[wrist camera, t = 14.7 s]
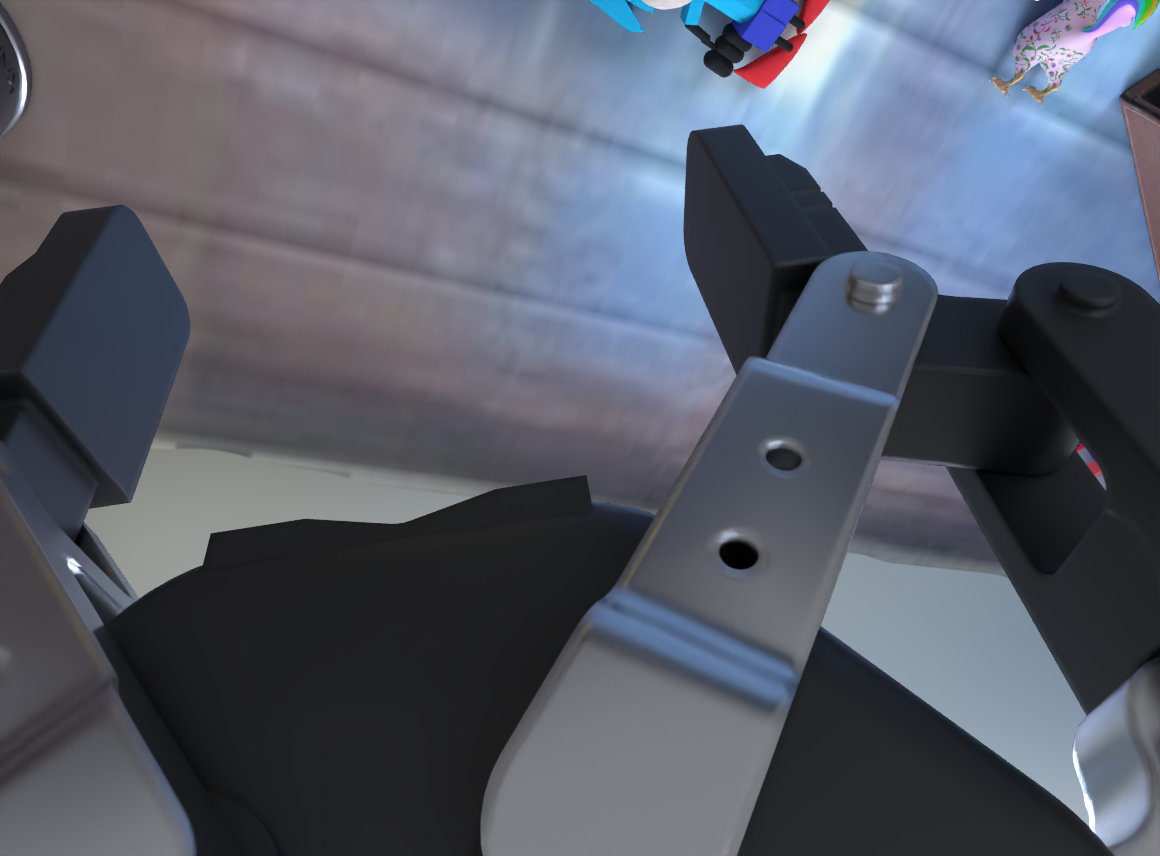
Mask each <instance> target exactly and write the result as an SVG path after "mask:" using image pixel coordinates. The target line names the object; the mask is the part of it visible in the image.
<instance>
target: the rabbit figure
mask: <svg viewBox="0 0 1160 856" xmlns="http://www.w3.org/2000/svg"><path fill="white" fill-rule="evenodd" d="M1036 1H1039V0H1036ZM1105 1H1107V0H1063V1H1062V2H1061V3H1060V4H1059V5H1058V6H1057V7H1055V8H1054V9H1052V10H1050V11H1049V12H1047V13H1046V14H1044V15H1043V16H1041V17H1040V18H1038V19H1037V20H1035V21H1034V22H1032V23H1031V24H1029V25H1028V26H1027V27H1025V28H1024V29H1023V30H1022V31H1021V32H1020V34H1019V35H1018V36H1017V38H1016V40H1015V42H1014V44H1013V47H1012V53H1013V58H1014V62H1015V70H1016V73H1015V76H1014V78H1013V79H1012V80H1010V81H1008V82H1004V81H1001V79H1000V78H998V77H995V76H994V77H992V78H991V79H990V80H989V82H990V81H991V80H993V84H994V85H995V86H996V87H997V88H998V89H999V90H1000V91H1001V92H1002V93H1003V92H1006V98H1007V96H1008V90H1007V88H1008V87H1010V86H1011V85H1013V84H1014V83H1015V82H1017V81H1020V80H1021V79H1022V78H1023V77H1024V75H1025V73H1026V72H1027V71H1028V70H1030V69H1031V68H1032V67H1033V66H1035V65H1036V64H1037V63H1040V65H1041V67H1042V69H1043V70H1044V71H1045V73H1046V75H1047V77H1048V80H1049V85H1048V87H1047V88H1046V89H1045V90H1042V91H1039V90H1036V88H1035V87H1034V86H1029V87H1028V88H1024V89H1023V90H1028V93H1029V94H1030V95H1031V96H1032V97H1033V98H1034V99H1035V100H1036V101H1041V107H1042V106H1043V98H1042V97H1043V96H1045V95H1047V94H1048V93H1050V92H1052V91H1055V90H1057V89H1058V88H1059V87H1060V85H1061V81H1062V79H1063V77H1064V76H1065V74H1066V73H1067V72H1068V70H1069V69H1070V68H1071V67H1072V66H1073V65H1074V64H1075V63H1077V62H1078V61H1080V60H1082V59H1083V58H1085V57H1086V56H1087V55H1088V54H1089V52H1090V51H1091V50H1092V48H1093V46H1094V44H1095V42H1096V40H1097V37H1099V36H1102V35H1104V34H1107V33H1109V32H1111V31H1113V30H1115V29H1117V28H1118V27H1120V26H1122V27H1126V26H1128V25H1130V24H1131V22H1132V19H1133V16H1135V15H1136V16H1135V24H1134V27H1133V29H1135V28H1137V27H1138V26H1139V25H1141V24H1142V23H1143V22H1144V21H1146V20H1147V19H1148V18H1149V17H1150V16H1151V15H1152V13H1153V12H1154V11H1155V9H1156V8H1157V6H1158V3H1159V0H1111V1H1110V2H1109V3H1108V5H1107V6H1106V7H1105V9H1104V11H1103V12H1102V14H1101V15H1100V17H1099V19H1098V20H1097V17H1098V11H1099V9H1100V7H1101V5H1102V4H1103V3H1104V2H1105ZM1133 29H1132V30H1133ZM994 79H996V80H994ZM1029 88H1031V89H1029Z"/></svg>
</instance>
